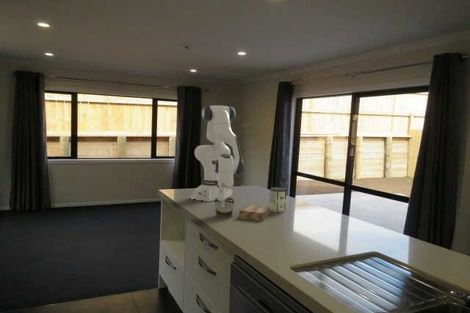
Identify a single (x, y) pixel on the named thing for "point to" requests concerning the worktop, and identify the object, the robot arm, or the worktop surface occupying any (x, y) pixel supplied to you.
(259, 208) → the walnut block
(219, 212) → the food container
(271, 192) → the coffee can
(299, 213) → the worktop surface
